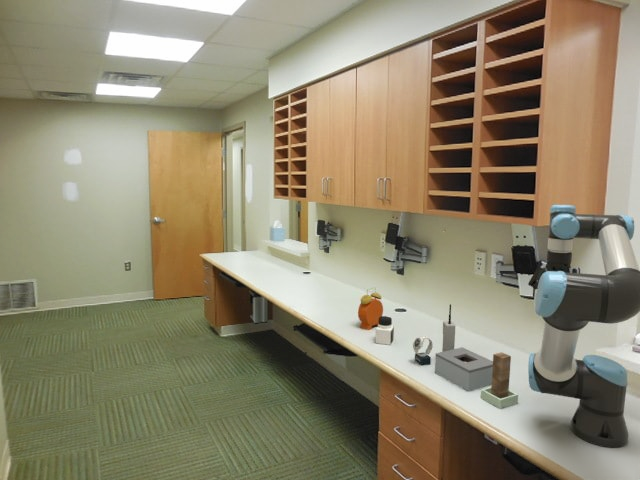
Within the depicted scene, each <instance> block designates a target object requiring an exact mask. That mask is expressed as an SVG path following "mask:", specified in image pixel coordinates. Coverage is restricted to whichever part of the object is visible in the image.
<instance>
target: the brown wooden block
mask: <svg viewBox="0 0 640 480" xmlns="http://www.w3.org/2000/svg"><path fill="white" fill-rule="evenodd" d="M511 359H512V357H511V355H509V354H507V353H504V352H497V353H494V354H493V356H492V361H493V369H492V385H490V387H491V394H492V395H494V396H496V397H498V398H500V399H501V398H505V397H508V393H509V390H510V375H511V361H512V360H511Z"/></svg>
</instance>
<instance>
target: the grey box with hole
mask: <svg viewBox="0 0 640 480" xmlns="http://www.w3.org/2000/svg"><path fill="white" fill-rule="evenodd" d="M434 358H435V359H434V360H435V362H434V373H435V374H436V375H439V376H440V377H442V378H443V379H445V380H447V381H449V382H451V383H453V384H454V385H457V386H458V387H460V388H462V389H463V390H466V391H467V392H471V391H474V390H475V391H476V390H477V389H483V388H484V387H485V388H486V387H490V386H491V385H492V369H493V360H491V359H489V358H487V357H484V356H482V355H480V354H477V353H475V352H473V351H471V350H469V349H467V348H465V347H463V346H462V347H458V348H454V349H453V350H448V351H444V352H442V351H439V352H436V353H435V357H434ZM465 362H467V363H465Z"/></svg>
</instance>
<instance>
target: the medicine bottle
mask: <svg viewBox="0 0 640 480" xmlns="http://www.w3.org/2000/svg"><path fill="white" fill-rule="evenodd" d="M392 320H393V319H392V317H391V316H390V315H389V316H388V315H382V316H381V317H379V324H378V326H376V328H375V344H379V345H388V346H391V345H392V343H393V341H394V337H395V336H394V335H395V333H394V332H395V331H394V330H395V326H394V325H393V324H392V322H393V321H392Z"/></svg>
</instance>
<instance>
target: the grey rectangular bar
mask: <svg viewBox="0 0 640 480" xmlns="http://www.w3.org/2000/svg"><path fill="white" fill-rule="evenodd" d="M448 309H449V314H448V320H445V321H444V320H443V321H442V351H441V352H444V351H448V350H453V349H455V343H456V342H455V341H456V324H454V322H453V321H451V320H452V315H451V314H452V304H451V303H450V304H449V308H448Z"/></svg>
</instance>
